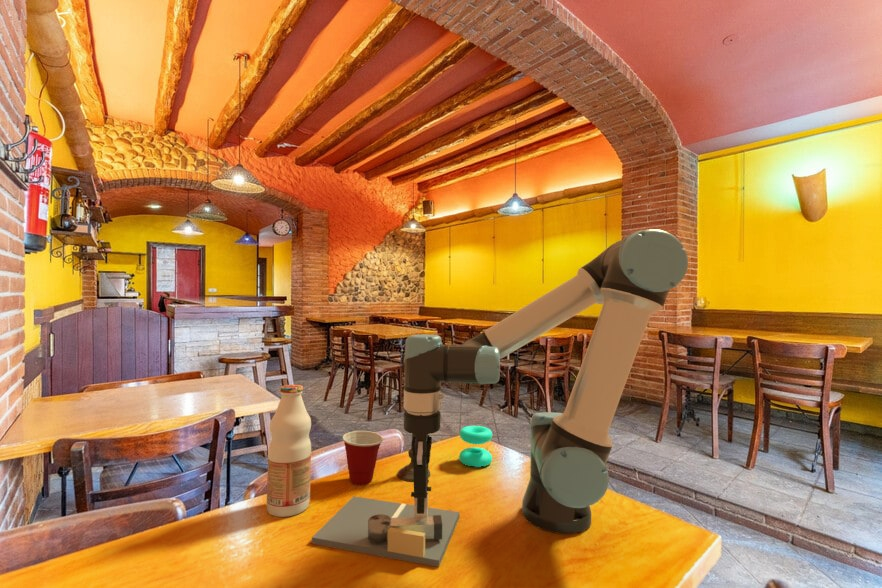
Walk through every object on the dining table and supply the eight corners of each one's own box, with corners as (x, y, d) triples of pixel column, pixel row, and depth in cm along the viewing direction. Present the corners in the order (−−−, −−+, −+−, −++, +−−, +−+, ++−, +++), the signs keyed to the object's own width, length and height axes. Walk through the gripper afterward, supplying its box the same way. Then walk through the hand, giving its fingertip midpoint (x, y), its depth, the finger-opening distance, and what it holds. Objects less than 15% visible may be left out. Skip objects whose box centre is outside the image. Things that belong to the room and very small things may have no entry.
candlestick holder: (394, 469, 117) (397, 365, 118) (425, 466, 120) (427, 364, 121) (401, 483, 108) (403, 370, 109) (434, 479, 111) (436, 369, 112)
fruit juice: (261, 519, 89) (265, 390, 90) (271, 499, 98) (274, 382, 99) (306, 516, 91) (310, 390, 92) (312, 496, 100) (315, 382, 101)
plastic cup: (373, 492, 103) (374, 444, 103) (334, 487, 105) (335, 440, 106) (387, 474, 114) (388, 431, 114) (351, 470, 116) (352, 428, 116)
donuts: (483, 423, 131) (498, 432, 121) (483, 454, 130) (497, 466, 121) (454, 425, 127) (467, 435, 118) (454, 458, 127) (466, 470, 118)
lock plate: (459, 517, 91) (459, 495, 92) (438, 567, 74) (439, 539, 74) (353, 501, 98) (354, 480, 98) (311, 543, 81) (312, 517, 81)
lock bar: (366, 543, 78) (367, 526, 78) (368, 530, 82) (369, 514, 82) (442, 540, 79) (442, 524, 79) (440, 528, 84) (440, 512, 84)
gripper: (439, 420, 77) (438, 545, 77) (441, 402, 90) (440, 510, 90) (399, 419, 77) (398, 544, 77) (407, 402, 90) (406, 509, 90)
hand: (420, 525), depth 83 cm, fingers closed
